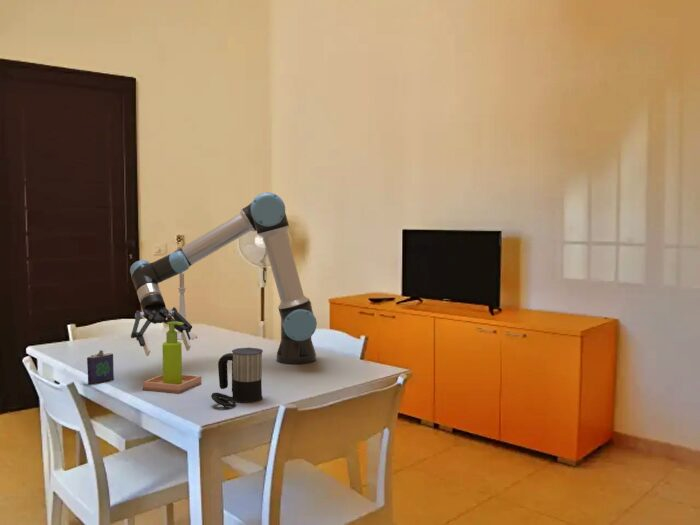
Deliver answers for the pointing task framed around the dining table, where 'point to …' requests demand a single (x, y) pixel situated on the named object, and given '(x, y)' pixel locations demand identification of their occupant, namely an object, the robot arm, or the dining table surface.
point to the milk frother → (241, 376)
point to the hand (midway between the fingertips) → (169, 351)
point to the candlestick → (183, 306)
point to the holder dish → (158, 384)
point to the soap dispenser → (172, 357)
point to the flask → (100, 368)
